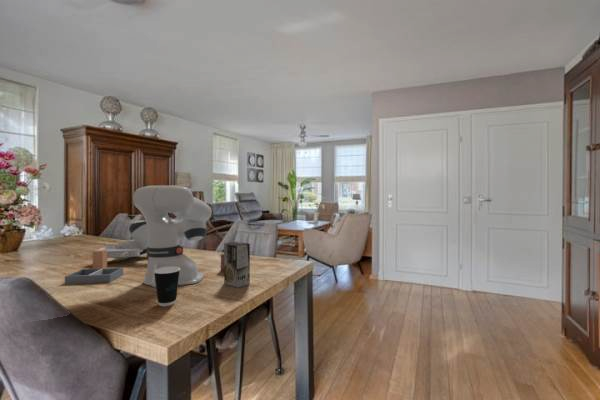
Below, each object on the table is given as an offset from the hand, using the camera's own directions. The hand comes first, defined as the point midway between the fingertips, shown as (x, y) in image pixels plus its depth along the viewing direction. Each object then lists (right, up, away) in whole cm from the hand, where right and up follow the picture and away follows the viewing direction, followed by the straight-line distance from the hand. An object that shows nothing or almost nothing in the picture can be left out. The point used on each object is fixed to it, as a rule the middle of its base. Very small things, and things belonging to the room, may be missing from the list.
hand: (110, 256), depth 141 cm
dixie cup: (+50, -6, -48) cm, 70 cm away
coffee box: (+68, -6, -27) cm, 73 cm away
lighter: (+59, -6, -7) cm, 60 cm away
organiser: (+7, -5, -21) cm, 23 cm away
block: (+2, -5, -10) cm, 12 cm away
